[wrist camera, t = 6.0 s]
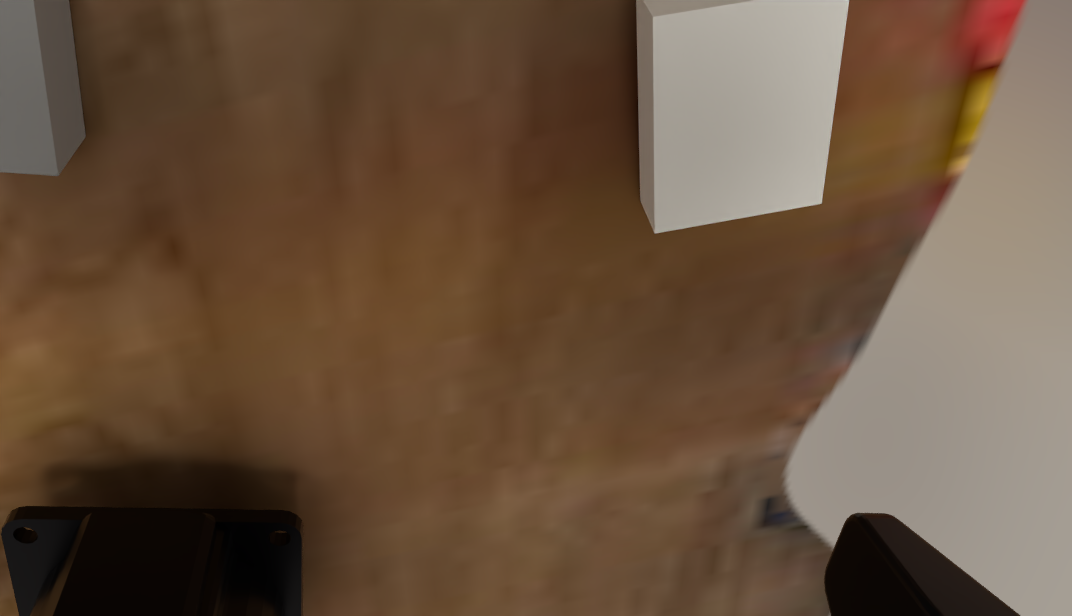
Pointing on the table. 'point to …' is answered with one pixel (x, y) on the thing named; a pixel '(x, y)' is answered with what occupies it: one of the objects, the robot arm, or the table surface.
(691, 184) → the eraser
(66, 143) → the tall grey pillar
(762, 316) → the table surface
